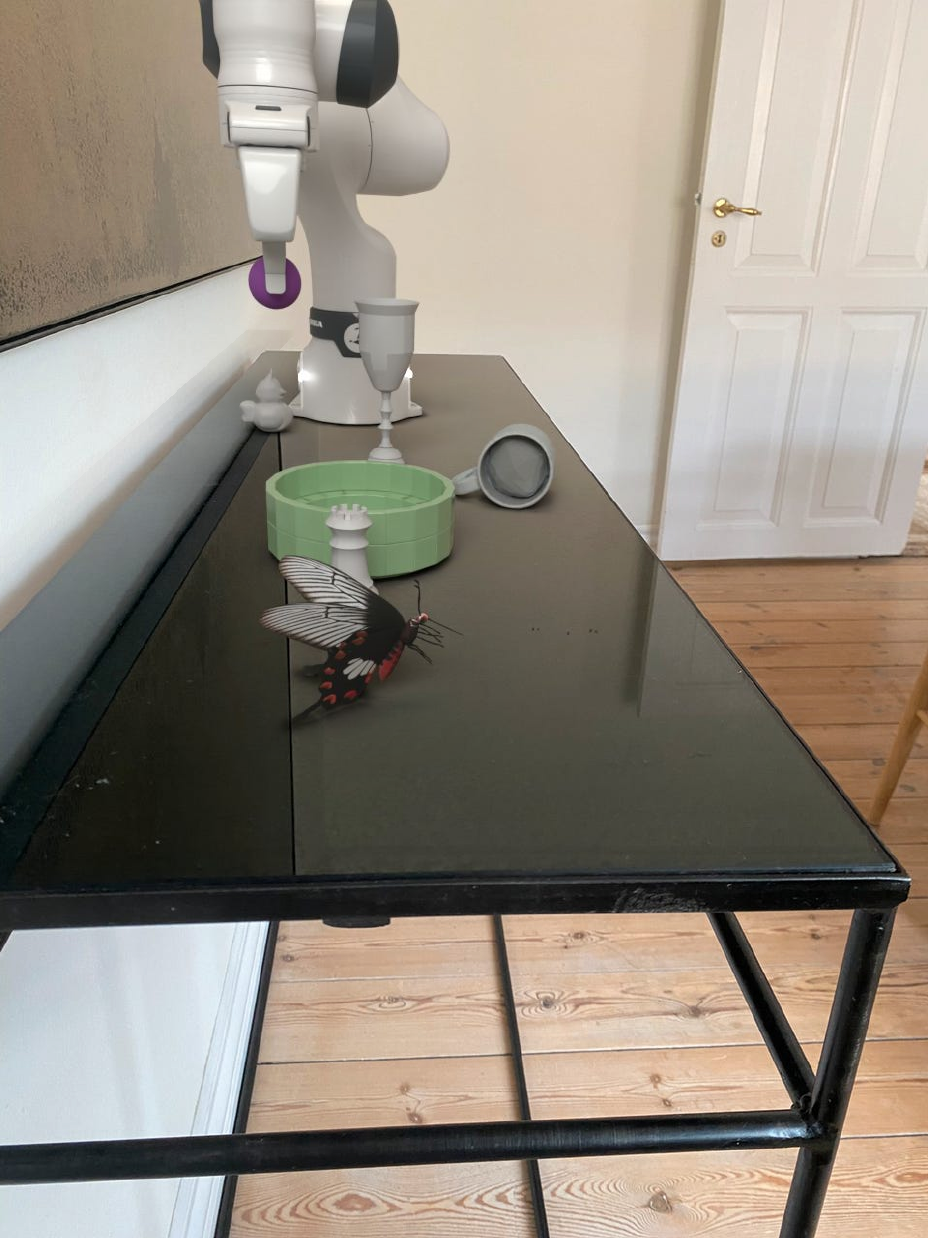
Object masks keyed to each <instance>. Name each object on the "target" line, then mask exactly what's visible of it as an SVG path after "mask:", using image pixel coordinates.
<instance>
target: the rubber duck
mask: <svg viewBox="0 0 928 1238" xmlns="http://www.w3.org/2000/svg"><path fill="white" fill-rule="evenodd" d="M286 393H287V390H285V388H284V389H283V387H282V386H281V383H280V381H279V380H278V379H277V378H276V377H274V370H273V368H271V369H270V371H269V373H268V374H267V375H266V376H265V377H264V378H263V379H262V380H261V381H260V382H259V383H258V385H257V387H256V389H255V396H256V397H257V399H258V400H259V401H258V402H256V401H254V400H250V399H249V400H243V401H241V402H240V403H239V409H240V411H241V413H242V415H241V420H242V421H243V422H244V423H253V424H254V425H255V426H256V427H257V428H258V429H259V430H261V431H262V432H266V433H281V432H282V431H284V430H285V429H286V428H288V427H289V425H290V424H292V422H293V418H294V415H293V411H292V409H291V408H290V407H289V406H288V405H289V404H287V403H286V402H284V401H283V400H284V399H285V394H286Z"/></svg>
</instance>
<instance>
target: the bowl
mask: <svg viewBox="0 0 928 1238" xmlns="http://www.w3.org/2000/svg"><path fill="white" fill-rule="evenodd" d="M451 480H452V479H450V478H449V477H447V476H445V475H443V474H441V473H439V472H438V471H435V470H432V469H428V468H425V467H422V466H419V465H414V464H408V463H407V464H406V463H404V464H401V463H395V462H383V461H370V460H368V459H364V460H363V459H361V460H359V459H358V460H355V459H353V460H351V459H350V460H349V459H348V460H347V459H346V460H342V459H341V460H332V461H331V460H329V461H320V462H319V461H318V462H312V463H306V464H302V465H296V466H292V467H289V468H287V469H284V470H281V471H278V472H276V473H273V475H271V477H269V478H268V479H266V481H265V502H266V503H265V505H266V506H265V507H266V525H267V527H266V528H267V529H266V530H267V548H268V551H269V552H270V553H271V554H273V556H274V557H275V558H276V560H278V561H279V562H280V561H281V559H282V557H284V556H286V555H295V556H302V557H308V558H311V559H315V560H318V561H321V562H323V563H326V564H329V565H331V562H332V546H331V545H330V544H329V541H330V540H331V539H332V531H331V530H330V529H329V527H328V526H327V525H326V523H325V522H326V520H327V519H328V517H329V516H330V515H331V507H333V506H338V511H340V504H347V510H353V504H358V505H360V511H361V507H366V508H367V516H368V517H369V518H370V519H371V521H372V525H371V526H370V527H369V529H368V530H367V531H366V534H365V535H366V539H367V540H368V541H369V544H368V546H367V547H366V558H367V565H368V572H369V575H370V578H371V580H377V579H379V580H380V579H388V578H395V577H399V576H400V577H401V576H405V575H409V574H411V573H414V572H418V571H420V570H423V569H426V568H428V567H431V566H435V565H437V564H438V563H440V562H441V561H443V560H444V559H446V558H447V557H449V556H450V554H451V551H452V549H453V547H454V537H455V534H454V533H455V511H456V510H455V508H456V494H455V486H454V485H453V483H452V482H451Z"/></svg>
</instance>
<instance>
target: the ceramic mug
mask: <svg viewBox="0 0 928 1238" xmlns="http://www.w3.org/2000/svg"><path fill="white" fill-rule="evenodd" d="M556 458H557V457H556V450H555V447H554V445H553V442H552V440H551V439H550V437H549V436H548V435H547V433H546V432H544V430H542V429H540V428H539V427H536V426H534V425H532V424H528V423H513V424H510V425H508V426H505V427H503V428H502V429H500V430H499V431H497V432H496V433H495V435H494V436H493V437H492V438H491V439H490V440H489V441H488V442H487V443H486V444H485V446H484V447H483V448H482V450H481V452H480V454H479V457H478V458H477V464H476V466H474V467H472V468H470V469H467V470H465V471H463V472H461V473H459V474H457V475H455V476H454V477H453V478H452V479H450V480H451V482H452V483H453V485H454V486H455V496H462V495H467V494H471V493H473V492H474V493H475V492H477V491H480V490H481V491H482V492H483V494H484V495H485V496H486V497H487V498H488V499H489V500H490V501H491V502H493V503H494V504H496V505H498V506H501V507H504V508H507V509H523V508H527V507H531V506H533V505H534V504H537V503H538V502H539V501H540V500H541V499H542V498H543V497H544V496H545V495H546V494H547V493H548V491H549V490H550V488H551V485H552V483H553V479H554V475H555V467H556V461H557V459H556Z"/></svg>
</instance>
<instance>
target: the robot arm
mask: <svg viewBox="0 0 928 1238" xmlns="http://www.w3.org/2000/svg"><path fill="white" fill-rule="evenodd" d="M198 3H199V7H200V16H201V17H200V19H201V31H202V32H201V33H202V56H201V57H202V58H201V59H202V63H203V66H205V68H206V69H207V70H208V72H210V74H211V75H212V76H213V77H214V78H215V79H216V80H217V81H216V82H217V83H216V88H217V89H216V92H217V105H218V122H219V123H218V124H219V142H220V146H221V147H222V148H224V149H229V150H234V153H235V168H236V169H239V170H240V174H241V175H240V176H241V181H242V188H243V194H244V195H243V196H244V201H245V207H246V213H247V220H248V224H249V229H250V234H251V237H252V240H253V241H255V242H261V246H262V247H261V248H262V249H261V250H262V252H261V253H262V257H263V260H264V268H265V279H266V290H267V292H269V293H272V294H282V293H284V292H285V290H286V282H285V267H286V258H287V243H292V242H293V241H294V240H295V236H296V229H297V219H298V220H299V222H300V225H301V226H302V229H303V232H304V234H305V238H306V242H307V245H308V252H309V253H308V254H309V261H310V272H311V273H310V274H311V289H312V306H311V307H310V308H309V317H308V324H309V334H310V335H311V339H310V340H309V343H308V344H307V345H306V346H305V347H304V348H303V350H302V351H301V352H300V353H299V358H298V359H297V364H296V376H297V378H298V383H297V389H298V391H299V393H297V395H296V396H295V397H294V398H293V399H292V400H291V402H289V403H288V404H287V405H288V406H289V407H290V408H291V409H292V411H293V417H303V418H307V419H311V420H314V421H318V422H324V423H331V424H332V423H333V424H342V425H376V424H381V421H382V416H381V413H380V411H379V409H380V408H381V404H382V395H381V392H380V391H378V390H376V389H374V387H373V385H372V383H371V381H370V378H369V376H368V374H367V371H366V369H365V367H364V364H363V361H362V357H361V354H360V351H359V311H358V309H357V306H356V304H355V302H354V300H356V299H364V298H393V299H397V259H398V258H397V253H396V250H395V248H394V246H393V244H392V242H391V241H390V240H389V238H388V237H387V236H385V234H384V233H382V232H381V231H379V230H378V229H376V228H375V227H373V226H371V225H369V224H368V223H366V221H365V220H364V218H363V217H362V215H361V212H360V209H359V206H358V202H357V195H362V196H380V197H382V196H385V197H404V196H410V195H417V194H421V193H426V192H430V191H432V190H434V189H436V188H437V187H438V185H439V184H440V182H442V180H443V179H444V177H445V174H446V172H447V170H448V167H449V163H450V157H451V142H450V137H449V133H448V130H447V128H446V125H445V123H444V120H442V118H441V117H440V115H439V114H438V113H437V112H436V111H434V110H433V109H432V108H430V107H428V105H426V104H425V103H424V102H423V101H421V100H420V99H419V98H418V97H417V96H416V95H415V94H414V92H413V91H412V90H411V89H410V88H409V87H408V85H407V84H406V82H405V81H404V80H403V79H402V77H401V76H400V74H399V73H398V72H399V69H400V68H399V66H400V58H401V42H400V35H399V29H398V25H397V21H396V17H395V13H394V10H393V8H392V6H391V4H390V2H389V1H388V0H198ZM411 378H413V372H412V370H411V363H410V364H409V367H408V370H407V372H406V374H405V376H404V378H403V380H402V383H401V385H400V387H399V389H397V390H395V391H393V392H391V397H390V403H391V408H392V409H393V412H392V413H391V416H390V422H391V423H392V422H397V421H400V420H401V421H402V420H403V419H404V420H405V419H406V418H410V417H412V418H413V417H417V416H422V415H423V407H422V406H421V405H419V404H417V403H415V402H413V401H412V400H411Z"/></svg>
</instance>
